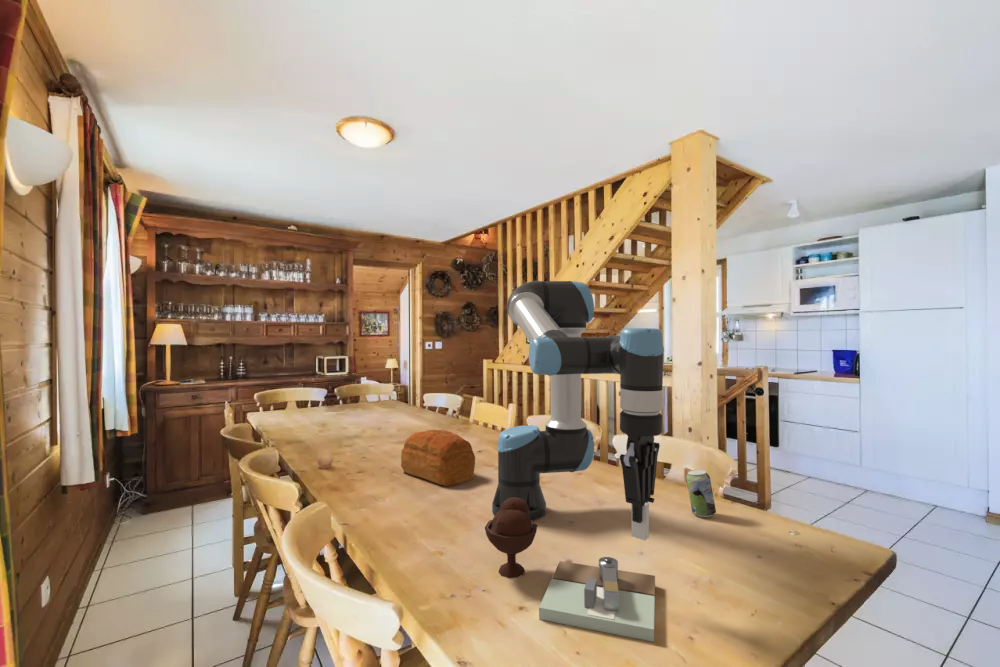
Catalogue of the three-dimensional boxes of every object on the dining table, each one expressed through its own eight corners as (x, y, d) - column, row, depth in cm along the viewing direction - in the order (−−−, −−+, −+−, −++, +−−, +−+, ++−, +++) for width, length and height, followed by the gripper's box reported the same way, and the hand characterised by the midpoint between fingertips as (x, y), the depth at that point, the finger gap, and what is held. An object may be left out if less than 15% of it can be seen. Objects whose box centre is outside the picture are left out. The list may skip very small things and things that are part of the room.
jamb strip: (552, 587, 90) (552, 575, 90) (559, 570, 97) (559, 559, 97) (654, 605, 84) (654, 593, 84) (655, 585, 91) (655, 574, 91)
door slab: (539, 618, 80) (538, 589, 80) (551, 589, 90) (551, 562, 90) (653, 641, 74) (653, 609, 74) (654, 607, 84) (654, 578, 84)
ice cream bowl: (483, 560, 102) (483, 492, 102) (533, 557, 103) (533, 490, 103) (486, 586, 91) (485, 510, 91) (542, 583, 92) (541, 508, 92)
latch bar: (598, 572, 91) (598, 554, 91) (617, 573, 91) (617, 555, 91) (600, 608, 79) (600, 587, 79) (622, 610, 79) (622, 589, 79)
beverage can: (718, 520, 122) (718, 475, 122) (689, 518, 124) (688, 473, 124) (712, 511, 129) (712, 468, 129) (684, 509, 130) (684, 467, 130)
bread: (443, 489, 149) (443, 440, 149) (396, 472, 168) (396, 429, 168) (479, 478, 161) (479, 432, 161) (432, 463, 179) (432, 423, 180)
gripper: (636, 404, 93) (635, 519, 94) (606, 414, 83) (605, 543, 84) (673, 408, 88) (672, 530, 89) (646, 420, 78) (645, 557, 79)
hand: (639, 536), depth 86 cm, fingers closed
